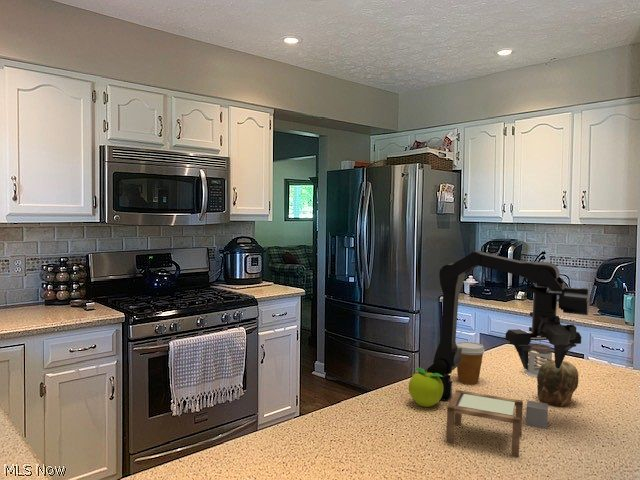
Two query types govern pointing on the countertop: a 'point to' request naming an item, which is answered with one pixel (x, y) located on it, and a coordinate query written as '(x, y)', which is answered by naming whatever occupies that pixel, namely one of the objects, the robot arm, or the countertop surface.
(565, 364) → the shell
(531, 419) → the gray cube
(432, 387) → the fruit
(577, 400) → the countertop surface
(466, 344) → the disposable coffee cup
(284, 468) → the countertop surface
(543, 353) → the french press
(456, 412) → the frame
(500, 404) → the trapdoor
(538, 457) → the countertop surface
